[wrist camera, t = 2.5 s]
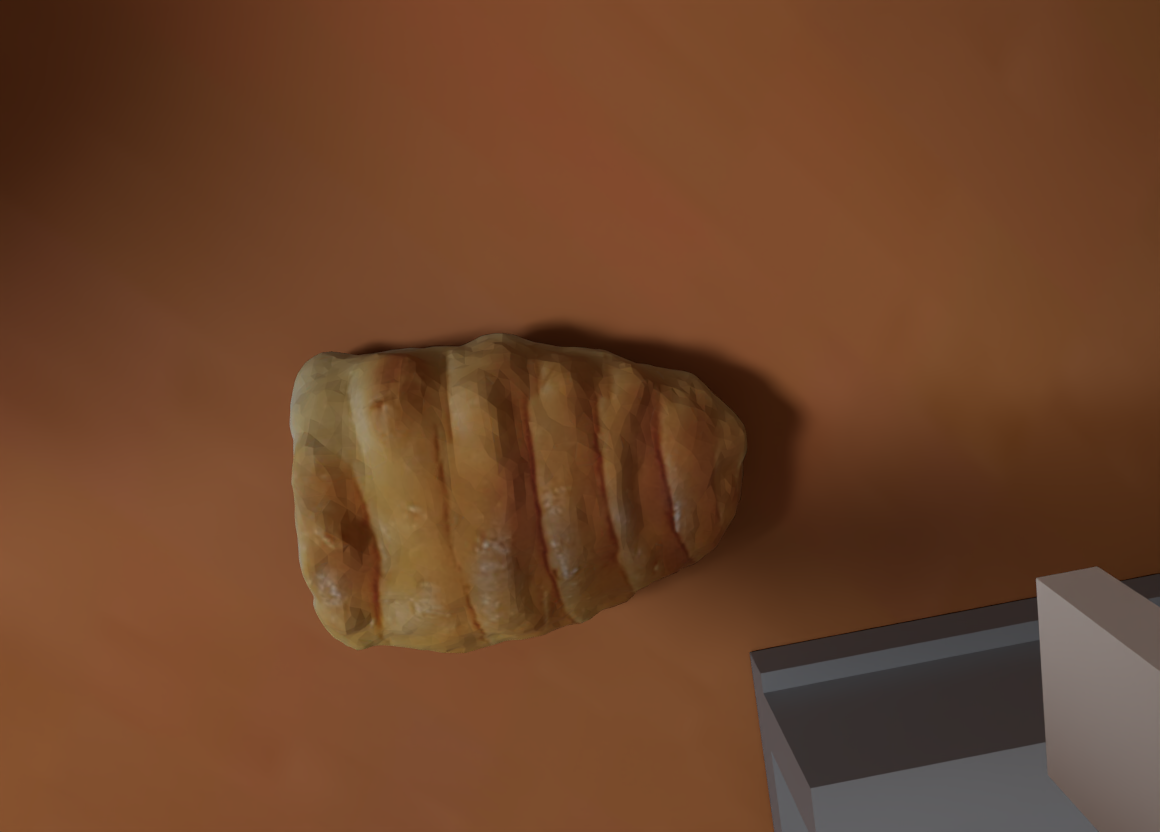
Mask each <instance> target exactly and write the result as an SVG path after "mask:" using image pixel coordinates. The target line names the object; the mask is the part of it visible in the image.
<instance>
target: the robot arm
mask: <svg viewBox="0 0 1160 832" xmlns="http://www.w3.org/2000/svg"><path fill="white" fill-rule="evenodd" d="M1036 587H1037V604H1038V620H1039V637H1040V654H1041V671H1042V687H1043V704H1044V721H1045V738H1046V754H1047V771H1048V776H1049V777H1050V778H1051V779H1052V780H1053V781H1054V782H1055V784H1056V785H1057V786H1058V787H1059V788H1060V789H1061V790H1062V791H1063V792H1064V794H1065V795H1066V796H1067V797H1068V798H1069V799H1070V800H1071V801H1072V802H1073V804H1074V805H1075V806H1076V807H1077V808H1078V809H1079V810H1080V811H1081V812H1082V814H1083V815H1084V816H1085V817H1086V818H1087V819H1088V820H1089V821H1090V822H1091V824H1092V825H1093V826H1094V827H1095V828H1096V829H1097V830H1098V831H1099V832H1160V607H1159V606H1157V605H1155V604H1154V603H1152V602H1151V601H1149V600H1148V599H1146V598H1145V597H1143V596H1142V595H1140V594H1139V593H1137V592H1136V591H1134V590H1133V589H1131V588H1129V587H1128V586H1126V585H1125V584H1123V583H1122V582H1120V581H1119V580H1117V579H1116V578H1114V577H1113V576H1111V575H1110V574H1108V573H1107V572H1105V571H1103V570H1102V569H1100V568H1099V567H1092V568H1087V569H1081V570H1076V571H1071V572H1065V573H1060V574H1054V575H1049V576H1044V577H1038V578H1036Z"/></svg>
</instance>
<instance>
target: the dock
mask: <svg viewBox="0 0 1160 832" xmlns="http://www.w3.org/2000/svg"><path fill="white" fill-rule="evenodd" d="M1120 582H1122V583H1123V584H1125V585H1126V586H1128V587H1129V588H1131V589H1133V590H1134V591H1136V592H1137V593H1139V594H1140V595H1142V596H1143V597H1145V598H1146V599H1148V600H1149V601H1151V602H1152V603H1154V604H1155V605H1157V606H1159V607H1160V574H1156V575H1151V576H1145V577H1140V578H1135V579H1130V580H1125V581H1120ZM750 658H751V666H752V673H753V680H754V687H755V695H756V702H757V709H758V716H759V724H760V731H761V738H762V745H763V753H764V760H765V767H766V774H767V782H768V789H769V796H770V803H771V811H772V818H773V825H774V832H1099V831H1098V830H1097V829H1096V828H1095V827H1094V826H1093V825H1092V824H1091V822H1090V821H1089V820H1088V819H1087V818H1086V817H1085V816H1084V815H1083V814H1082V812H1081V811H1080V810H1079V809H1078V808H1077V807H1076V806H1075V805H1074V804H1073V802H1072V801H1071V800H1070V799H1069V798H1068V797H1067V796H1066V795H1065V794H1064V792H1063V791H1062V790H1061V789H1060V788H1059V787H1058V786H1057V785H1056V784H1055V782H1054V781H1053V780H1052V779H1051V778H1050V777H1049V776H1048V771H1047V754H1046V738H1045V721H1044V704H1043V687H1042V671H1041V654H1040V637H1039V620H1038V604H1037V597H1036V598H1031V599H1025V600H1020V601H1015V602H1010V603H1005V604H999V605H994V606H989V607H984V608H979V609H973V610H968V611H963V612H958V613H952V614H947V615H942V616H937V617H932V618H926V619H921V620H916V621H911V622H906V623H900V624H895V625H890V626H885V627H879V628H874V629H869V630H864V631H859V632H853V633H848V634H843V635H838V636H833V637H827V638H822V639H817V640H812V641H806V642H801V643H796V644H791V645H786V646H780V647H775V648H770V649H765V650H760V651H754V652H750Z"/></svg>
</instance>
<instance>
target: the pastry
mask: <svg viewBox="0 0 1160 832" xmlns="http://www.w3.org/2000/svg"><path fill="white" fill-rule="evenodd" d="M290 409H291V413H290V429H291V433H292V437H293V440H294V443H293V451H294V459H293V465H292V483H291V484H292V486H293V492H294V501H295V524H296V531H297V536H298V549H299V561H300V566H301V570H302V574H303V577H304V579H305V581H306V583H307V585H308V587H309V589H310V590H311V592H312V594H313V596H314V601H313V605H314V608H315V611H316V613H317V615H318V617H319V619H320V621H321V622H322V624H323V625H324V627H325V628H326V629H327V631H328V632H329V633H330V634H331V635H332V636H333V637H334V638H335V639H337V640H339V641H341V642H343V643H344V644H345V645H346V646H349V647H352V648H354V649H356V650H361V649H366V648H369V647H371V646H375V645H389V646H398V647H407V648H414V649H419V650H431V651H436V652H442V653H446V652H447V653H466V652H470V651H473V650H477V649H480V648H483V647H486V646H491V645H495V644H497V643H500V642H503V641H507V640H521V639H528V638H532V637H537V636H542V635H545V634H547V633H549V632H551V631H553V630H556V629H558V628H561V627H564V626H567V625H573V624H580V623H583V622H585V621H587V620H589V619H591V618H592V617H593V616H595V615H596V614H597V613H599V612H600V611H601V610H603V609H606V608H611V607H614V606H616V605H619V604H622V603H624V602H627V601H628V600H629V599H630V598H631V597H632V596H633V595H634V594H635V593H636V592H637V590H639V589H641V588H643V587H646V586H648V585H649V584H650V583H652V582H654V581H656V580H659V579H662V578H664V577H666V576H669V575H671V574H674V573H676V572H677V571H679V570H680V569H682V568H684V567H687V566H690V565H693V564H695V563H696V562H698V561H699V560H700V559H701V558H703V557H704V556H705V555H706V554H708V553H709V552H710V551H712V550H714V549H715V548H716V547H717V545H718V544H719V542H720V540H721V539H722V537H723V535H724V533H725V532H726V530H727V528H728V526H729V525H730V523H731V521H732V520H733V518H734V517H735V515H736V510H737V505H738V503H739V501H740V499H741V490H742V480H743V460H744V457H745V455H746V452H747V436H746V430H745V426H744V424H743V423H742V422H741V420H740V419H739V418H738V416H737V415H736V414H735V413H734V412H733V411H732V410H731V409H730V408H729V407H728V406H727V405H726V404H725V403H724V402H723V401H722V400H721V399H719V398H718V397H717V396H716V395H714V394H713V393H712V392H711V391H710V390H709V388H708V387H707V386H706V385H705V384H704V383H703V382H702V381H701V380H700V379H698V378H697V377H696V376H695V375H694V374H692V373H689V372H686V371H681V370H673V369H667V368H661V367H655V366H652V365H649V364H637V363H634V362H632V361H630V360H627V359H625V358H622V357H620V356H618V355H615V354H613V353H611V352H608V351H606V350H602V349H590V348H582V347H558V346H553V345H548V344H543V343H536V342H532V341H529V340H526V339H523V338H521V337H518V336H516V335H512V334H504V333H495V334H488V335H483V336H481V337H479V338H477V339H475V340H473V341H471V342H469V343H467V344H465V345H462V346H433V347H428V348H405V349H397V350H389V351H384V352H379V353H373V354H363V355H353V354H346V353H339V352H323V353H320V354H318V355H316V356H314V357H313V358H311V359H310V360H308V361H307V362H306V363H305V364H304V366H303V367H302V368H301V370H300V371H299V373H298V374H297V377H296V380H295V383H294V388H293V393H292V399H291V405H290Z"/></svg>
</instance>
